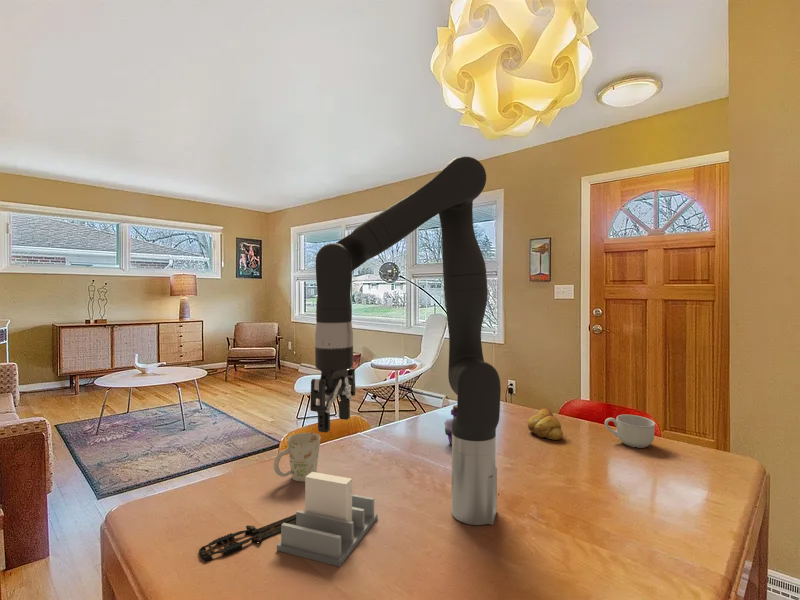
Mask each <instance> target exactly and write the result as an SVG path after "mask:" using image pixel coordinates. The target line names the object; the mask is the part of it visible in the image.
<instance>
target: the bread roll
mask: <svg viewBox="0 0 800 600" xmlns="http://www.w3.org/2000/svg"><path fill="white" fill-rule="evenodd" d="M527 428H528V430H529V431H530V432H531V433H534V434H535V435H536V436H538V437H541V438H544V437H545V438H546V439H549V440H551V439H552V440H553V441H555V440H561V439H562V438H563V435H564V431H563V430H562V424H561V422H560V421H559V419H558V418H557V417H556V416H554V414H553V412H552V411H551V410H550V409H549V408H546V407H544V408H541V409H540V410H539V411H538V412H537V414H535V415H533V416H531V417H530V418H529V419H528V421H527Z"/></svg>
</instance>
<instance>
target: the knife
mask: <svg viewBox="0 0 800 600" xmlns="http://www.w3.org/2000/svg"><path fill="white" fill-rule="evenodd" d="M283 523H288V524H292V525H296V513H295V514H293V515H289V516H287V517H284V518H282V519H280V520H279V519H278V520H277V521H274V522H272V523H269V524H267V525H264V526H261V527H259V528H256V527H255V526H254V525H246V526H245V530H240V531H236V532H234V533H232V532H231V533H229V534H226V535H223V536H221V537H218V538H216V539H214V540H212V541H211V542H209V543H207V544H206V545H204V546H201V547H200V548H199V550H198V553H199V555H200V557H201V559H202V560H203V561H204V562H205V563H208V561H209V562H211V561H212V560H213V556H214V555H216V554H222V553H223V554H222V555H223V557H224V558H225V557H226V556H230V555H232V554H235V553H237V552H236V551H238V550H240V551H242V549H243V545H246V544H248V543H249V542H251V543H252V542H253V543H254V544H255V543H256V544H257V542H259V543H260V545H259V546H261V545H262V544H261V543H262V541H264V539H265V538H268V537H270V536H272V535H275V534H277V533H279V532H280V533H281V525H282V524H283ZM242 534H244V535H245V536H246V535H247V536H250V534H251V535H252V537H249V538H247V539H244V540H242V541H237V540H236V538H235V537H237V536H239V535H242ZM230 540H232V542H230ZM225 542H226V543H227V545H228V546H227V545H226V544H225ZM259 543H258V544H259ZM218 544H219V545H220V544H221V545H222V547H223V548H221V549H218V550H216V551H215V549H213V547H212V546H213V545H218ZM258 544H257V545H258ZM207 548H208V549H209V551H207ZM241 548H242V549H241ZM234 552H235V553H234ZM238 552H239V551H238ZM210 553H211V554H210Z"/></svg>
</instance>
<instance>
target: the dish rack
mask: <svg viewBox="0 0 800 600" xmlns="http://www.w3.org/2000/svg"><path fill="white" fill-rule="evenodd" d="M295 514H296V525H292V524H288V523H283V524H282V525H280V526H281V531H280V538H281V539H280V541H279V543H277V544H276V551H278V552H282V553H286V554H290V555H292V556H297V557H300V558H304V559H308V560H312V561H315V562H319V563H320V562H321V563H323V564H328V565H331V566H336V567H340V568H341V566H342V565H343V564H344V562H345V561H346V560H347V559H348V557H349V556H350V555H351V554H352V552H353V551H354V549H355V548H356V547H357V545H358V544H359V543H360V542H361V541H362V539H363V538H364V537H365V535H366V534H367V533H368V531H369V530H370V529H371V527H373V525H374V524H375V522H376V521H377V520H378V513H375V498H374V497H371V496H365V495H360V494H354V493H352V521H348V520H343V519H338V518H334V517H329V516H324V515H320V514H315V513H310V512H306V511H305V510H300V509H298V510H297V511H296V513H295Z"/></svg>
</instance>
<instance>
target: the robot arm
mask: <svg viewBox="0 0 800 600" xmlns="http://www.w3.org/2000/svg"><path fill="white" fill-rule="evenodd" d="M486 183H487V172H486V169H485V167H484V166H483V163H481V162H480V161H479V160H477V159H476V158H474V157H472V156H466V155H465V156H458V157H456V158H453V159H452V160H451V161H449V162H447V164H446V165H444V167H443V168H442V169H441V170H440V172H438V174H437V175H435V176H434V177H433V178H432V179H431V180H429V181H428V182H427V183H426V184H424V185H422V186H421V187H419V189H417V190H416V191H414V192H412V193H411V194H409V195H408V196H406V197H405V198H402V199H401V200H400V201H398V202H396V203H394V204H392V205H391V206H389V207H387V208H386V209H384V210H382V211H381V212H379V213H377V214H375V215H374V216H372V217H371V218H370V219H367V220H366V221H364V222H363V223H361V224H360V225H358V226H357V227H356V228H355V229H354V230H353V231H352V232H351V233H349V234H348V235H347V236H345V237H343V238H341V239H340V240H338V241H337V242H333V243H332V242H331V243H327V244H325V245H323V246H322V247H320V249H319V250H318V252H317V253H316V256H315V278H316V290H317V291H316V293H317V294H316V295H317V296H316V304H315V305H316V307H315V309H316V310H315V312H316V313H315V317H316V318H315V320H316V324H315V331H314V332H315V333H314V350H315V351H314V352H315V353H314V355H315V356H314V358H315V363H314V364H315V368H316V369H317V370H320V372H321V373H320V374H321V375H320V377H319V379H318V378H312V379H311V380H310V406H309V407H310V411H311V412H315V413H317V430H318V432H319V433H328V432H330V430H331V414H330V413H331V412H330V411H331V407H332V404H333V403H334V402H336V399H337V397H338V400H339V401H338V418H339V419H340V420H344V421H345V420H350V418H351V407H350V406H351V401H352V399H353V397H354V396H356V376H355V375H356V372H355V371H356V370H355V368H353V367H354V331H353V324H352V322H353V321H352V320H353V319H352V318H353V316H352V314H353V313H352V312H353V311H352V310H353V309H352V297H351V290H352V279H353V278H352V276H353V274H352V273H353V272H354V270H356V269H358V268H359V267H360V266H362V265H363V264H364V263H365V262H367V261H369V260H370V259H373V258H375V257H376V256H378V255H380V254H382V253H384V252H385V251H387V250H389V249H390V248H391V247H393V246H394V245H396V244H397V243H399V242H400V241H402V240H404V239H405V238H406V237H407V236H409V235H410V234H412V232H414V231H416V230H417V229H418V228H419V227H421V226H423V224H425V223H426V222H428V221H429V220H431V219H433V218H434V217H435V216H437V215H438V216H439V221H440V229H441V231H440V232H441V256H442V279H443V291H444V299H445V311H446V312H445V313H446V320H447V321H446V323H447V328H448V329H447V330H448V340H449V341H448V342H449V343H448V346H449V347H448V348H449V349H448V371H447V373H448V376H447V377H448V382H449V386H450V388H451V390H452V391H453V392H454V394H456V395H457V399H456V400H457V416H456V418H454V419H453V418H452V419H453V421H452V446H451V504H450V505H451V514H452V516H453V518H454V519H456V521H457V520H458V522H461V523H462V524H466V525H471V526H483V525H491V526H492V525H494V523H495V518H496V515H497V510H498V468H497V465H496V462H497V461H496V456H497V455H496V454H497V453H496V452H497V451H496V449H497V448H496V447H497V446H496V445H497V443H496V440H497V438H496V436H497V435H496V434H497V433H496V432H497V427H498V425H499V423H500V414H501V395H502V394H501V392H502V391H501V388H502V387H501V378H500V375H499V373H498V371H497V369H496V368H495V367H494V366H493V365H492V364H490V363H489V362H487V361H485V360H484V359H485V358H484V353H483V347H482V327H483V324H484V323H483V322H484V317H485V314H486V308H487V304H488V296H489V295H488V293H489V292H488V291H489V289H488V278H487V277H488V275H487V268H486V267H487V266H486V262H485V258H484V256H483V253H482V249H481V247H480V245H479V242H478V240H477V238H476V233H475V229H474V221H473V220H474V216H473V206H474V205H473V202H474V200H475V199H477V198H478V197H479V196H480V195H481V193H482V192H483V190H484V188H485V187H486Z"/></svg>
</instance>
